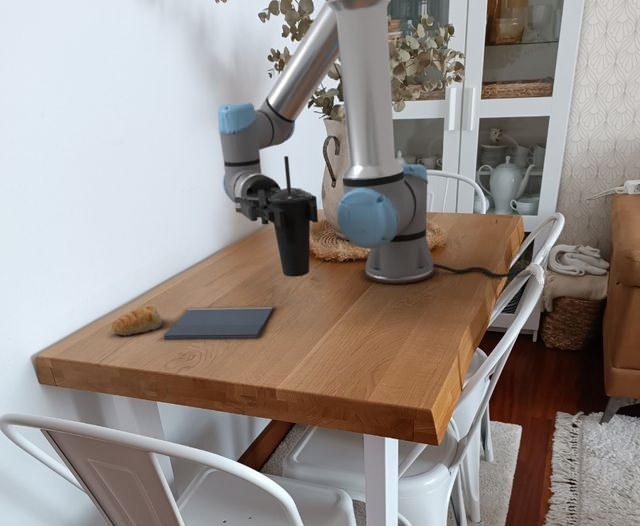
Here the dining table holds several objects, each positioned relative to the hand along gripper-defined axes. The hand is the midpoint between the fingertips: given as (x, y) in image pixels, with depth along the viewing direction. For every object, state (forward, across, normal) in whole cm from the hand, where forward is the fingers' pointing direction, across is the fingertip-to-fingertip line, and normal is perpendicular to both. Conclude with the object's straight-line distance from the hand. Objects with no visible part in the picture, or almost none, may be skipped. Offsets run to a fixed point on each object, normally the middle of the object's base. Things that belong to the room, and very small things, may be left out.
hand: (298, 216), depth 104 cm
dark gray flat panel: (-13, +14, -21) cm, 28 cm away
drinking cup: (-5, 0, -11) cm, 13 cm away
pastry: (-19, +28, -21) cm, 40 cm away
